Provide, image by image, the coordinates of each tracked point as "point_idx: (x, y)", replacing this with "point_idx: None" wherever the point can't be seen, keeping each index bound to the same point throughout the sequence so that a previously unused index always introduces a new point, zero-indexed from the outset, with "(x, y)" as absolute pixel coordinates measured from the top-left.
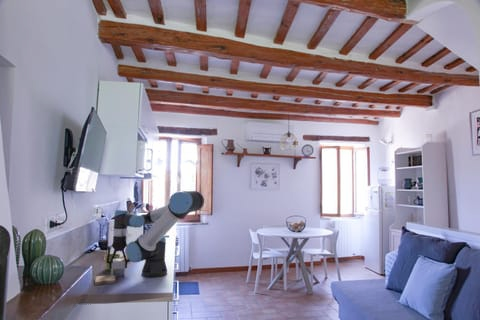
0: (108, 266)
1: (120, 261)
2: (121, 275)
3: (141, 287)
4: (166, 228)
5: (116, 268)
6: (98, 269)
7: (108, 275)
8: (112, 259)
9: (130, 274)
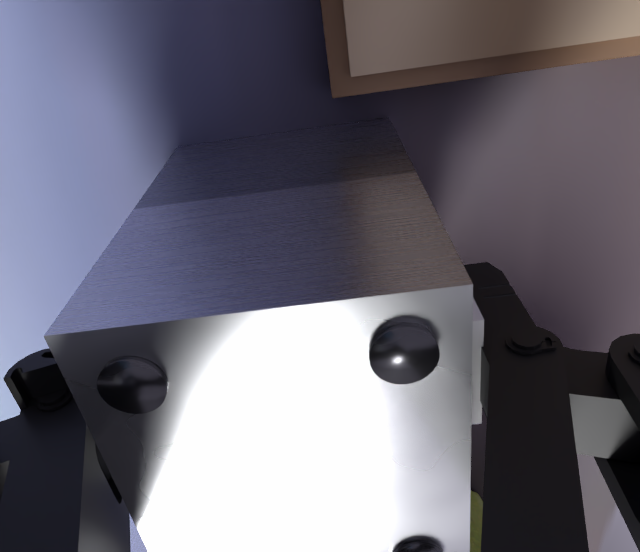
0: (479, 525)
1: (194, 306)
2: (214, 146)
3: None
4: None
5: (327, 190)
6: (589, 520)
7: (492, 51)
8: (519, 439)
9: (65, 235)
